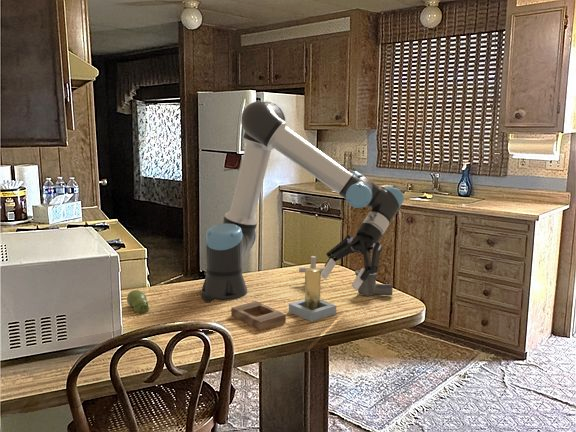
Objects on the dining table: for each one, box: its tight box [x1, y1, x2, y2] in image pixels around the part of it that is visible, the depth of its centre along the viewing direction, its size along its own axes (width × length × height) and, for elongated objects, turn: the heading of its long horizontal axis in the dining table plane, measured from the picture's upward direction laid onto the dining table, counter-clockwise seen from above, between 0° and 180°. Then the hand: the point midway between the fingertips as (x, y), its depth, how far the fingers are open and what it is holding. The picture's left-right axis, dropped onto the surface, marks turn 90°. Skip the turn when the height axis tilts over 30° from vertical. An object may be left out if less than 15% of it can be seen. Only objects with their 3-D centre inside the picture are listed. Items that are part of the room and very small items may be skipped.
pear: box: [126, 289, 150, 314], centre depth 166 cm, size 6×5×10 cm
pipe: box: [354, 269, 394, 297], centre depth 182 cm, size 6×13×8 cm, turn 79°
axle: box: [304, 268, 322, 310], centre depth 160 cm, size 5×5×13 cm
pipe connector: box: [298, 255, 325, 273], centre depth 193 cm, size 10×10×10 cm
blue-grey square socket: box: [288, 298, 337, 322], centre depth 161 cm, size 10×10×4 cm
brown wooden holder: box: [230, 300, 287, 332], centre depth 156 cm, size 14×9×4 cm, turn 40°
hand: (337, 282), depth 167 cm, fingers open, 13 cm apart
